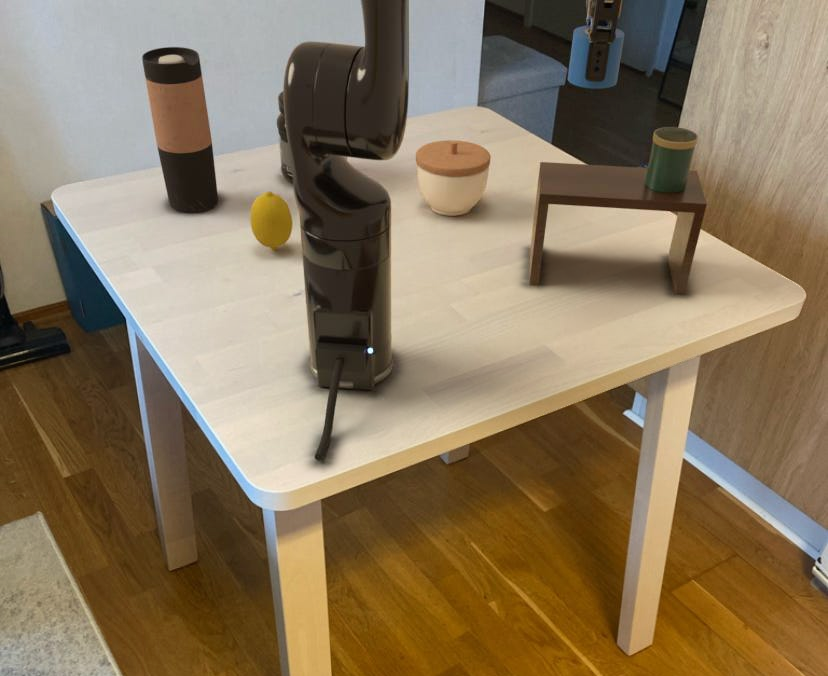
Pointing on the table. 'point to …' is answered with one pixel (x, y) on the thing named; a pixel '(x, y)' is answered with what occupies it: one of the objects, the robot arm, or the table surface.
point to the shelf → (619, 192)
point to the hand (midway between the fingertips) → (593, 71)
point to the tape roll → (580, 59)
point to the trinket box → (452, 175)
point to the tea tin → (670, 159)
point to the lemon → (271, 220)
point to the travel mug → (181, 127)
